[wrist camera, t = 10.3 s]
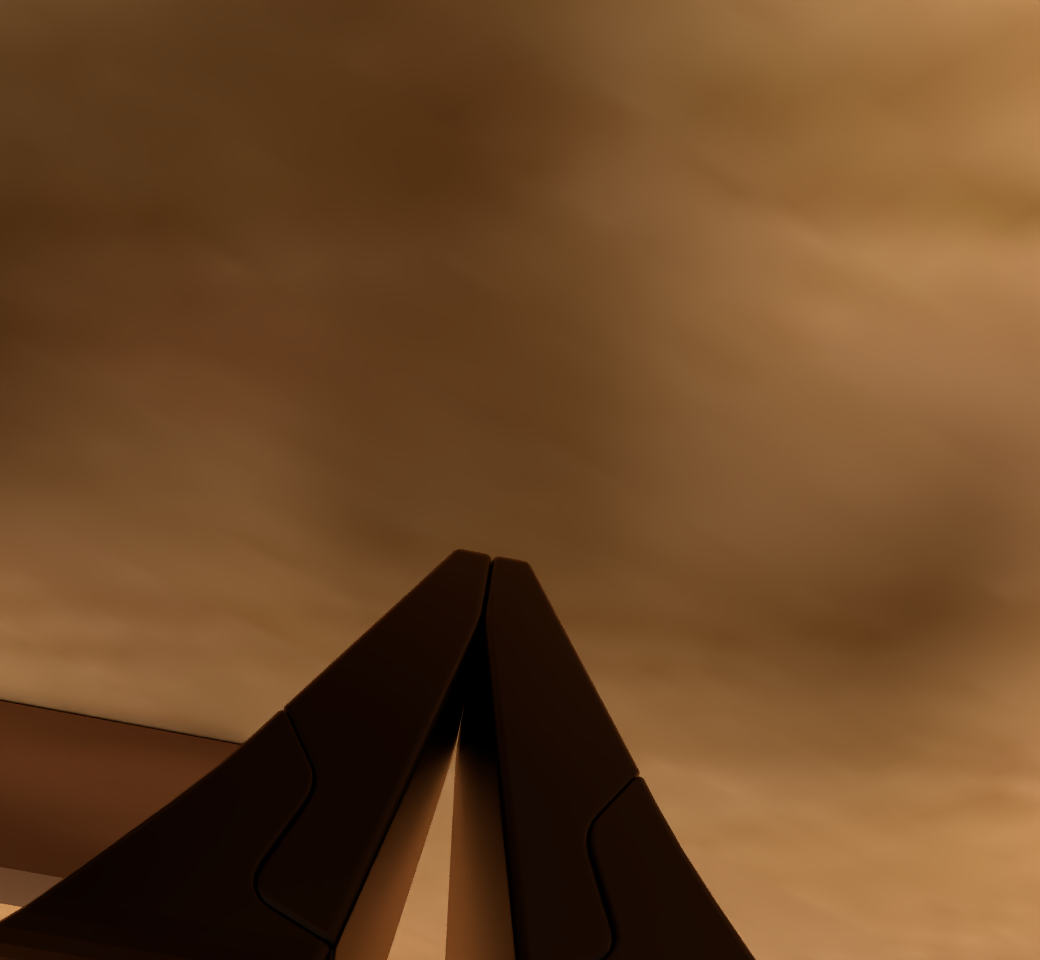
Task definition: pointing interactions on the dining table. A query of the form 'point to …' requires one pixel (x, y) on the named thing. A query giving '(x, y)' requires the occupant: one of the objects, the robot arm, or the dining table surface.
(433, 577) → the robot arm
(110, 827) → the box
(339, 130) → the dining table surface
